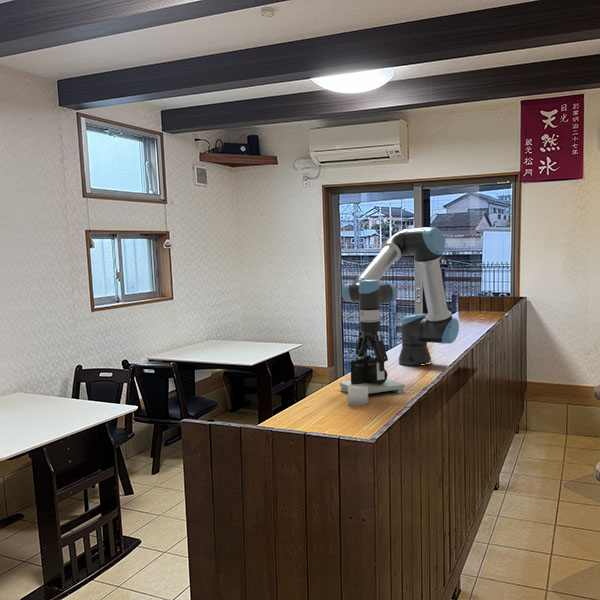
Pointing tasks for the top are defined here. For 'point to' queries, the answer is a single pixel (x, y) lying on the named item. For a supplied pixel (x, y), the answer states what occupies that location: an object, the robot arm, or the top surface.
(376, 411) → the top surface
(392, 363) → the top surface
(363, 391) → the grey rounded block
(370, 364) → the camera
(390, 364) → the top surface
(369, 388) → the stand
